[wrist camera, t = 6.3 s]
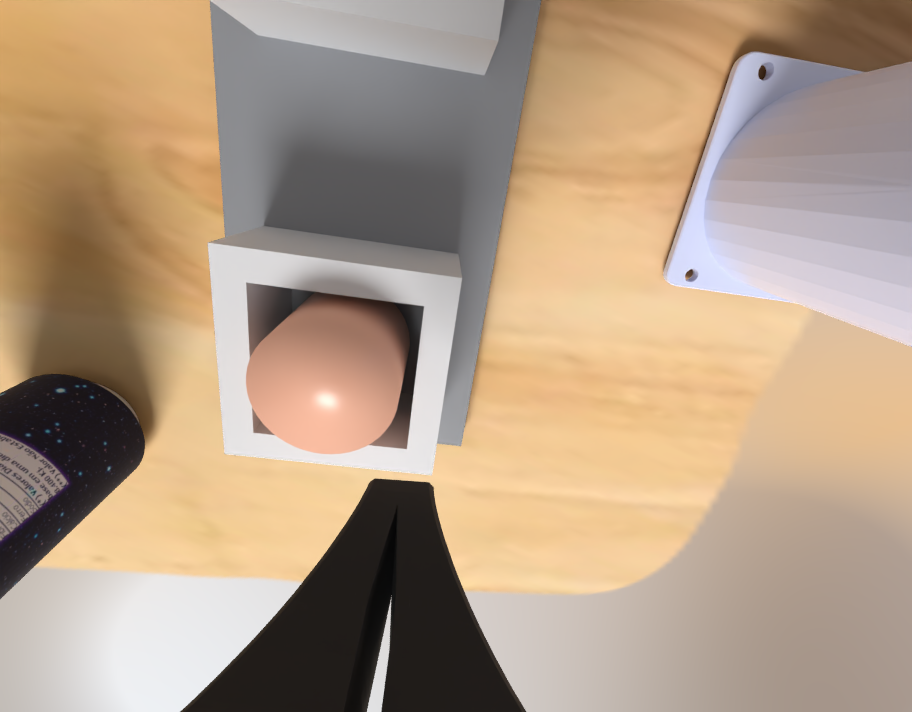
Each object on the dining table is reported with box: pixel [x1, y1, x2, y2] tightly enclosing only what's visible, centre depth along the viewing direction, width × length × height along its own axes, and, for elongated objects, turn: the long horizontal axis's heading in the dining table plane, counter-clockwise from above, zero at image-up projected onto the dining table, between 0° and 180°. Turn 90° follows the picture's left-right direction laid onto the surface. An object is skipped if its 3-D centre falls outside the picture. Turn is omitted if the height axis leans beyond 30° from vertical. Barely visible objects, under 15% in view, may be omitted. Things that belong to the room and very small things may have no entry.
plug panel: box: [208, 0, 541, 475], centre depth 13 cm, size 10×23×5 cm, turn 172°
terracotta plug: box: [246, 292, 410, 454], centre depth 14 cm, size 4×4×4 cm
